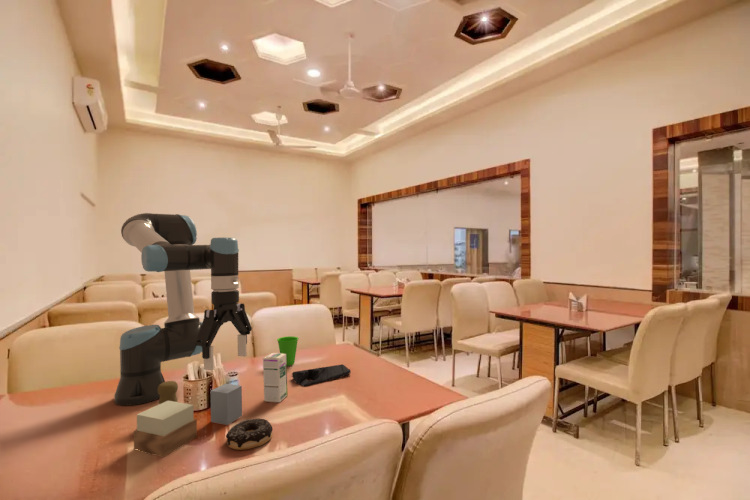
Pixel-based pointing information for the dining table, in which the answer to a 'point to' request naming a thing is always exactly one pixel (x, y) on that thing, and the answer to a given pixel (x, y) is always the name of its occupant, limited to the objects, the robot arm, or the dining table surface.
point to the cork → (167, 391)
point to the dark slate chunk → (320, 374)
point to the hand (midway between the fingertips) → (226, 362)
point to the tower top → (165, 418)
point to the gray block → (226, 404)
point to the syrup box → (275, 377)
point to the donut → (249, 434)
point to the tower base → (165, 440)
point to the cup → (288, 348)
